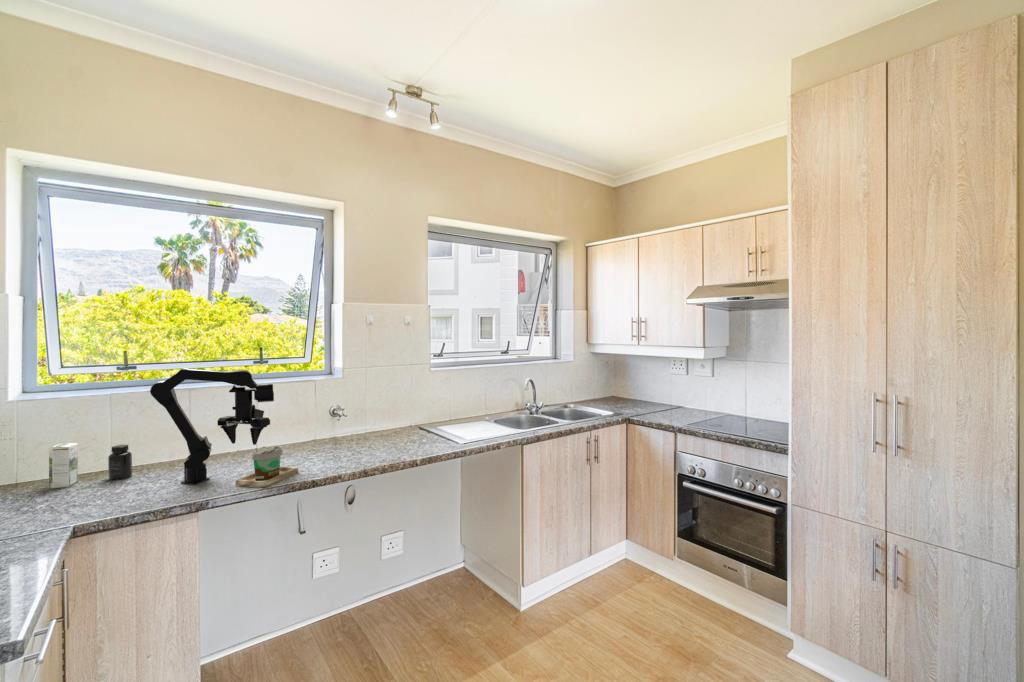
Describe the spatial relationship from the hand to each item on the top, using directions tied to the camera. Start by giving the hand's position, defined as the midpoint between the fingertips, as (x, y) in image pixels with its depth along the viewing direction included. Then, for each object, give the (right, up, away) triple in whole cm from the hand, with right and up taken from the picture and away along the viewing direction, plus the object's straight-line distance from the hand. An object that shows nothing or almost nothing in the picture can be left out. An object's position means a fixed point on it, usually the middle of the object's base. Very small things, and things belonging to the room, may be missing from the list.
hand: (244, 444), depth 178 cm
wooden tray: (+11, -12, -4) cm, 17 cm away
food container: (+12, -12, -4) cm, 17 cm away
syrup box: (-57, -12, -12) cm, 60 cm away
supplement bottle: (-45, -12, -3) cm, 46 cm away
